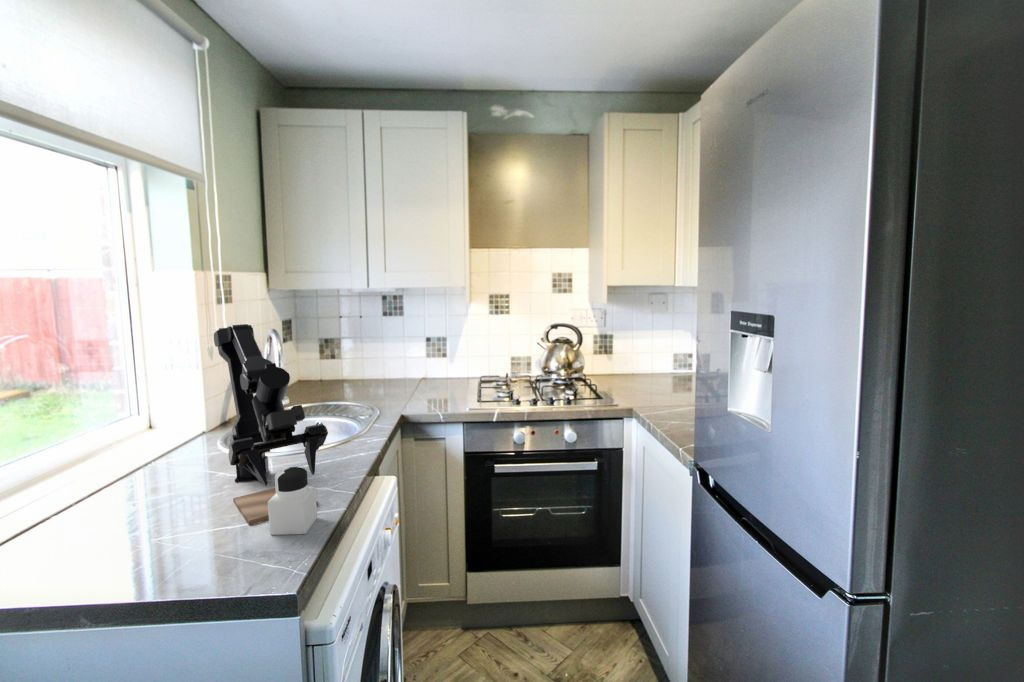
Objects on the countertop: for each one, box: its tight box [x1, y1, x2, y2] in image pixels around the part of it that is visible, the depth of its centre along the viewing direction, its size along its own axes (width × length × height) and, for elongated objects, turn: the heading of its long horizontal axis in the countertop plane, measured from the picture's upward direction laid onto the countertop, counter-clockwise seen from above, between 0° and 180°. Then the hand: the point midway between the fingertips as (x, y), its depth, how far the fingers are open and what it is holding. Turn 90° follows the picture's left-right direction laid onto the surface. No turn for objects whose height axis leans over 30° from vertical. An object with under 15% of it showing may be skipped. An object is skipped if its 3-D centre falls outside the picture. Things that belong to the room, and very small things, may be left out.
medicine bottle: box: [268, 466, 318, 536], centre depth 106 cm, size 7×7×12 cm
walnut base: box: [232, 487, 318, 526], centre depth 117 cm, size 14×14×1 cm
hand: (290, 479), depth 105 cm, fingers open, 9 cm apart
